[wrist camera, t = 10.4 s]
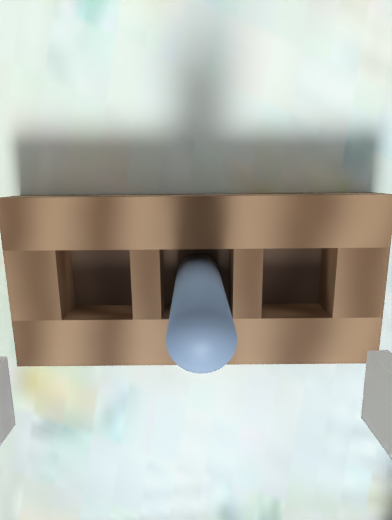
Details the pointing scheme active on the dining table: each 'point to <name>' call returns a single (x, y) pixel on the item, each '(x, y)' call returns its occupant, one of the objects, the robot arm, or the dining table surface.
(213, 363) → the peg
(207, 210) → the hole block
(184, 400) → the dining table surface
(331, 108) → the dining table surface
